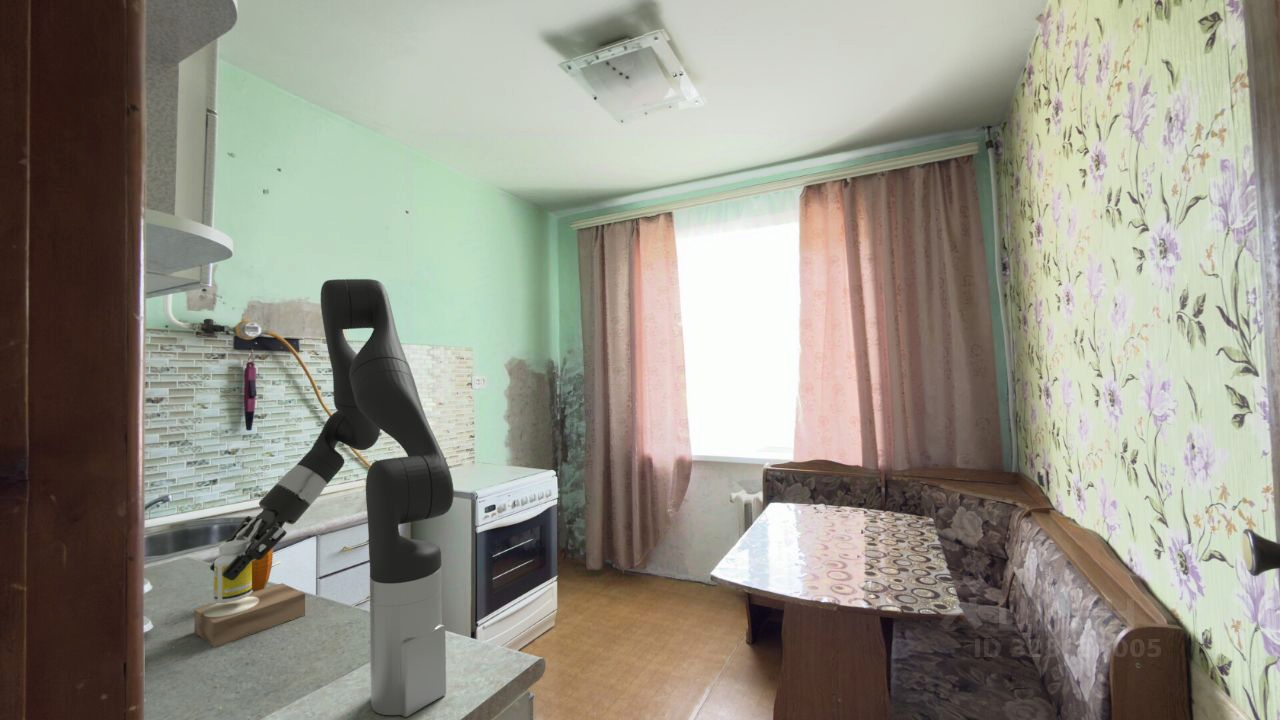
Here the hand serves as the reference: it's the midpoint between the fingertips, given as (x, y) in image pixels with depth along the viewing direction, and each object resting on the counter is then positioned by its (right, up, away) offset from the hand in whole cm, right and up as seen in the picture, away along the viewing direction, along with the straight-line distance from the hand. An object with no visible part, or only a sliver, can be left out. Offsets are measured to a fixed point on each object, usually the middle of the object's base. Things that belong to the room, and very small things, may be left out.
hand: (220, 574), depth 93 cm
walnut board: (+3, -11, +4) cm, 11 cm away
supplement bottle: (+1, -5, +1) cm, 5 cm away
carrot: (-5, -11, +16) cm, 21 cm away
